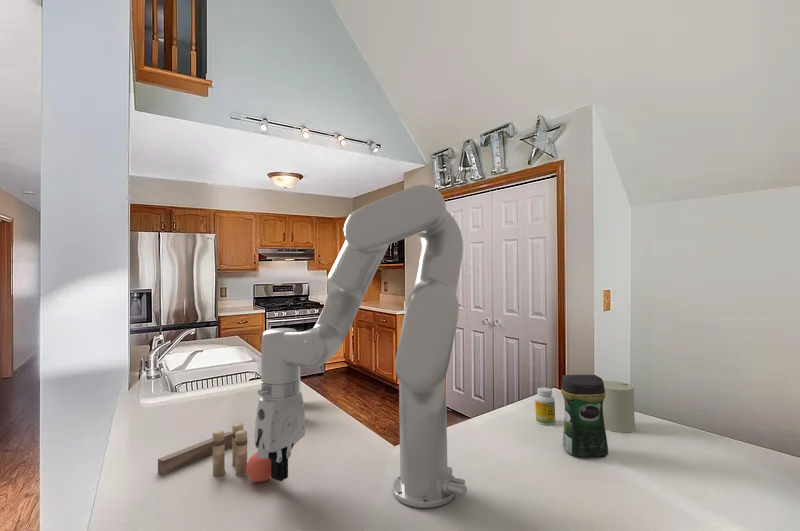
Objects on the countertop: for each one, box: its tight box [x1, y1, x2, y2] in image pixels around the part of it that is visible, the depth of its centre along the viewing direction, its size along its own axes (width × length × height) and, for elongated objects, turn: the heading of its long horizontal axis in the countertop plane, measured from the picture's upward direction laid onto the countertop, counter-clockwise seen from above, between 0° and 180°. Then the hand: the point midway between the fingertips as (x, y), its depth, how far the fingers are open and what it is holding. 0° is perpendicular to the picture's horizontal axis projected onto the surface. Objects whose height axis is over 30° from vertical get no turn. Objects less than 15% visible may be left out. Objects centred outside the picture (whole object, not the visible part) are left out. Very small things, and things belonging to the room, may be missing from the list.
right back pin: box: [231, 422, 244, 467], centre depth 93 cm, size 2×2×9 cm
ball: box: [246, 452, 271, 483], centre depth 85 cm, size 6×6×6 cm
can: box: [603, 380, 637, 434], centre depth 112 cm, size 9×9×12 cm
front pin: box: [235, 429, 248, 477], centre depth 89 cm, size 2×2×9 cm
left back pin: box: [212, 429, 226, 477], centre depth 89 cm, size 2×2×9 cm
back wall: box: [157, 431, 232, 475], centre depth 97 cm, size 2×18×3 cm, turn 150°
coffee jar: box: [560, 374, 609, 459], centre depth 96 cm, size 10×8×19 cm
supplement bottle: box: [534, 387, 556, 426], centre depth 116 cm, size 5×5×10 cm
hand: (279, 478), depth 82 cm, fingers closed
